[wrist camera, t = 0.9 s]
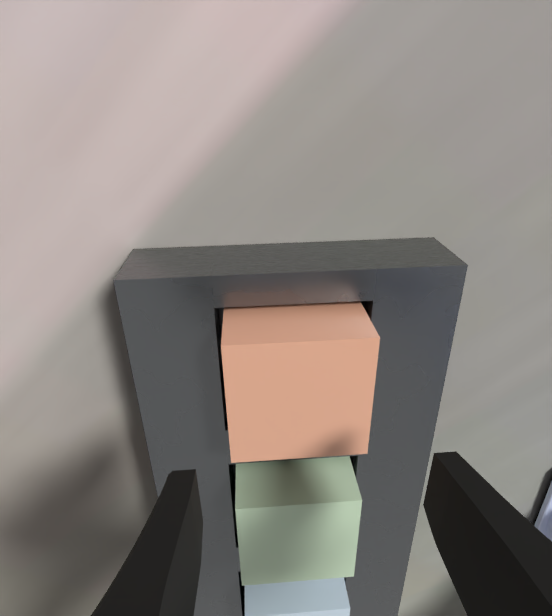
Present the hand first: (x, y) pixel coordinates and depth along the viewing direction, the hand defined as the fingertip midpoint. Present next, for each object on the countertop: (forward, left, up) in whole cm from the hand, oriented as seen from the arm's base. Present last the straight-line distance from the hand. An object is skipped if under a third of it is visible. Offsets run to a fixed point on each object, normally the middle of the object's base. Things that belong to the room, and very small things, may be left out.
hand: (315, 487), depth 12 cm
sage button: (0, +7, -6) cm, 10 cm away
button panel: (0, +8, -8) cm, 11 cm away
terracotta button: (0, 0, -6) cm, 6 cm away
